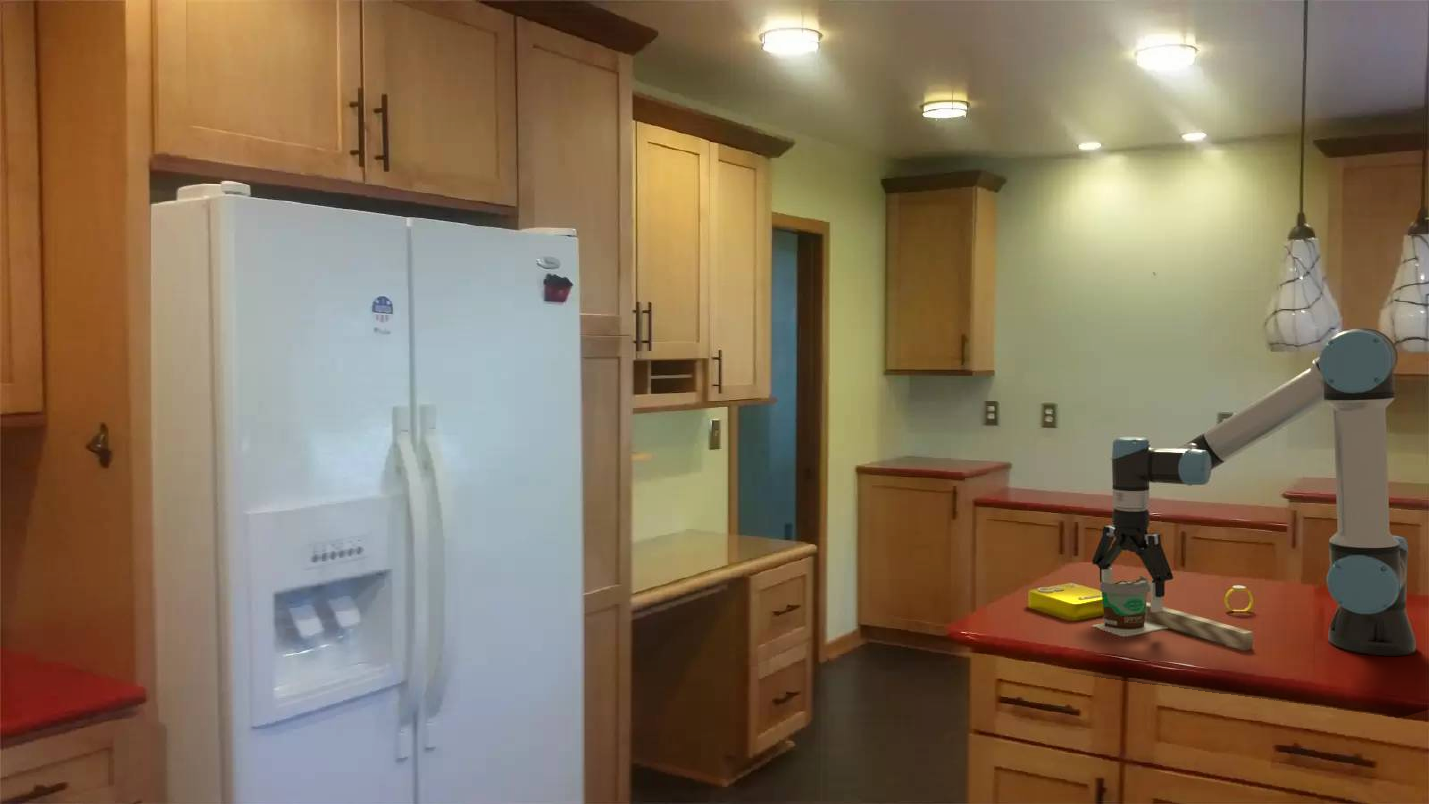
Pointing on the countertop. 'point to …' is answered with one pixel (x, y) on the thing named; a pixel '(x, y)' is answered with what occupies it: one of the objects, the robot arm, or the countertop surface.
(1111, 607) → the food container
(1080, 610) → the element tile
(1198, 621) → the maple straightedge
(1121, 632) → the plate
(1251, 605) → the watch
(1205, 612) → the countertop surface
